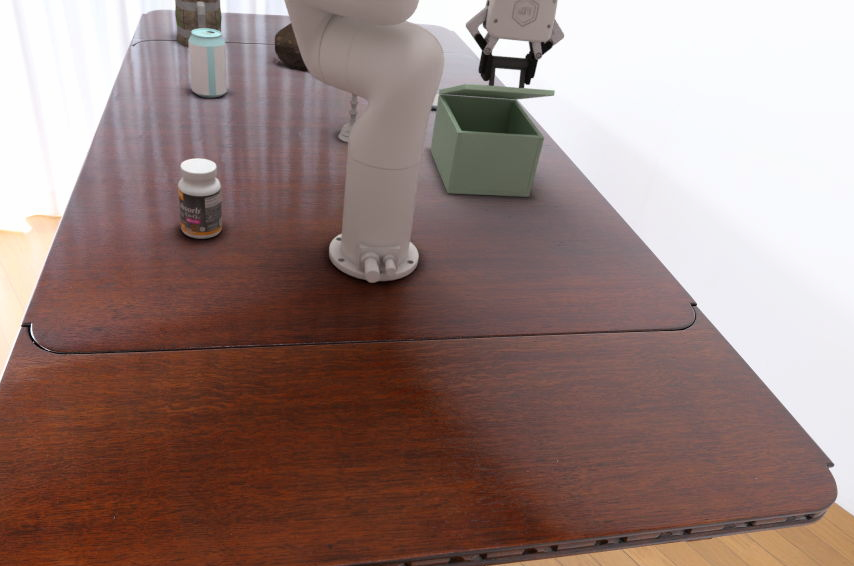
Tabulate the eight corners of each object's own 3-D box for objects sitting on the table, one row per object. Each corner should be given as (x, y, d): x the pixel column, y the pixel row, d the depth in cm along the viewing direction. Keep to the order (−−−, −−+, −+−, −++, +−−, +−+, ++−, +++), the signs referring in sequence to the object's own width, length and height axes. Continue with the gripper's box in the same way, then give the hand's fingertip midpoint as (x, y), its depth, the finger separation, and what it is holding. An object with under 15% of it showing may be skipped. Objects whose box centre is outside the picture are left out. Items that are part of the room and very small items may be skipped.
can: (189, 87, 141) (185, 26, 134) (224, 86, 144) (221, 27, 137) (194, 99, 136) (190, 37, 129) (229, 98, 139) (227, 37, 132)
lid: (554, 95, 107) (558, 59, 106) (464, 89, 105) (467, 51, 103) (516, 99, 125) (519, 68, 123) (439, 94, 122) (441, 62, 121)
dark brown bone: (303, 81, 158) (322, 61, 183) (327, 42, 154) (343, 27, 178) (263, 52, 156) (287, 36, 180) (287, 11, 151) (308, 0, 175)
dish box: (529, 197, 117) (544, 137, 111) (447, 193, 115) (457, 132, 109) (504, 154, 131) (516, 99, 125) (430, 150, 129) (438, 94, 123)
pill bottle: (172, 231, 95) (166, 166, 90) (200, 216, 100) (195, 152, 94) (204, 244, 94) (200, 178, 88) (231, 228, 98) (229, 164, 92)
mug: (175, 34, 170) (171, -18, 162) (220, 36, 173) (218, -15, 166) (179, 54, 158) (175, -2, 151) (227, 55, 161) (225, 1, 154)
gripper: (478, -48, 94) (456, 83, 104) (596, -34, 97) (563, 92, 107) (468, -56, 100) (448, 68, 110) (579, -43, 103) (549, 77, 113)
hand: (505, 79), depth 109 cm, fingers closed on lid, 6 cm apart
